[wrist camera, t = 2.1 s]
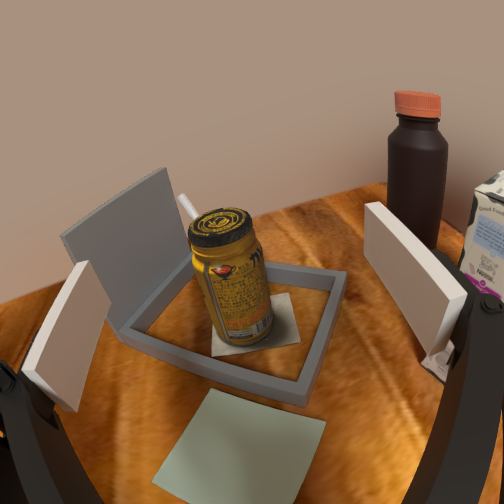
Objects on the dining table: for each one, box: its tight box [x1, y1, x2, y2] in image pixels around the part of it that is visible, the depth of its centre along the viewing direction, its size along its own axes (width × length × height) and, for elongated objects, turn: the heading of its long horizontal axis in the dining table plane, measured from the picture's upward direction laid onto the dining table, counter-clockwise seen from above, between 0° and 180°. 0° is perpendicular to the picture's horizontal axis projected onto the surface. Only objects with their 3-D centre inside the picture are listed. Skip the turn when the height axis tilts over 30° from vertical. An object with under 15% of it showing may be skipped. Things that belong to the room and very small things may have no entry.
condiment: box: [188, 208, 301, 357], centre depth 27 cm, size 7×8×12 cm
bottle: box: [387, 91, 448, 250], centre depth 29 cm, size 7×7×20 cm
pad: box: [151, 388, 326, 504], centre depth 18 cm, size 10×10×1 cm
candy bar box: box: [420, 169, 504, 385], centre depth 17 cm, size 11×5×16 cm, turn 119°
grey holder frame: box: [60, 167, 347, 408], centre depth 28 cm, size 21×16×14 cm
